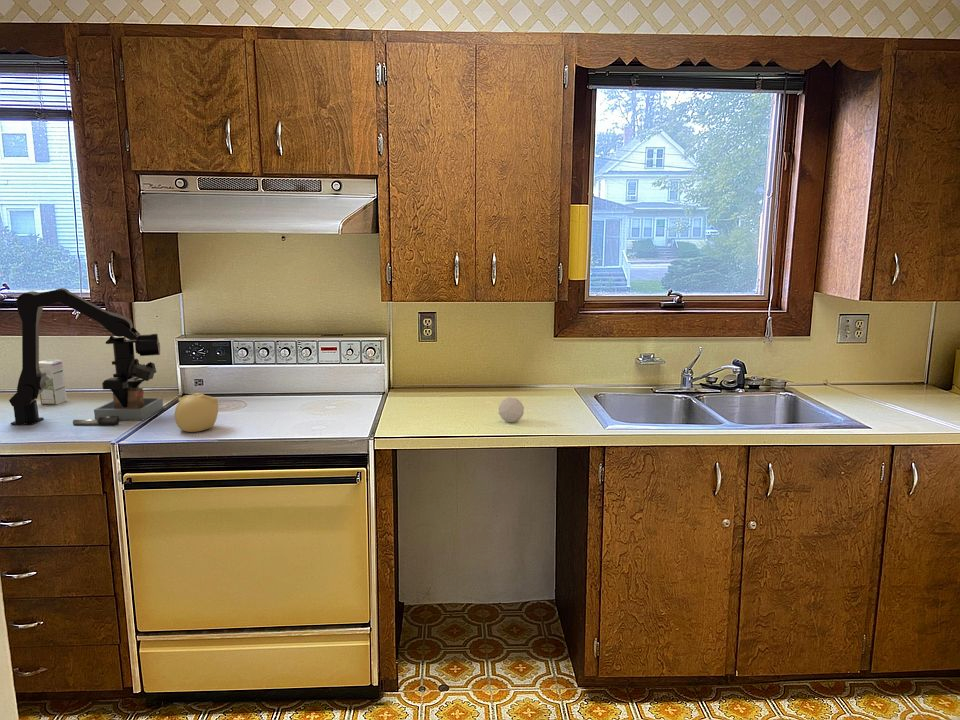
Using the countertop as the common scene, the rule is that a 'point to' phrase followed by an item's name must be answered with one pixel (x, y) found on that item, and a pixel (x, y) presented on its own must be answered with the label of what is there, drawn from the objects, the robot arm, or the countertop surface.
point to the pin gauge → (99, 421)
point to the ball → (511, 410)
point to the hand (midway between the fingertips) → (129, 405)
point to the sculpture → (196, 412)
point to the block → (131, 399)
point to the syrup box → (53, 382)
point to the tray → (130, 410)
